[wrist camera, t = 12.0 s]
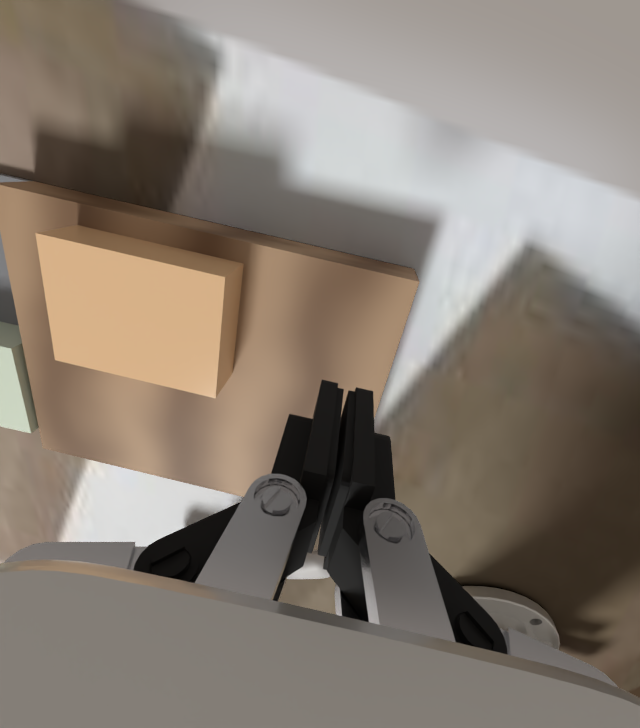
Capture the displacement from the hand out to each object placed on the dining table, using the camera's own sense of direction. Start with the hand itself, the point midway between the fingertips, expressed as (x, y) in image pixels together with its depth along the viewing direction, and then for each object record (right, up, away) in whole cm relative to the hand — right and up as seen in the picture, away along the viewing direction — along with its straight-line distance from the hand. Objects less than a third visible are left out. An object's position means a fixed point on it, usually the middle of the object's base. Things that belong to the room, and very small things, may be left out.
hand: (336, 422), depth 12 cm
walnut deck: (-7, +2, +11) cm, 13 cm away
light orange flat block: (-9, +5, +7) cm, 12 cm away
